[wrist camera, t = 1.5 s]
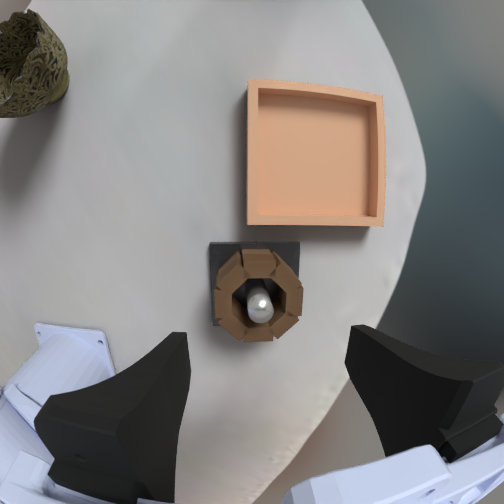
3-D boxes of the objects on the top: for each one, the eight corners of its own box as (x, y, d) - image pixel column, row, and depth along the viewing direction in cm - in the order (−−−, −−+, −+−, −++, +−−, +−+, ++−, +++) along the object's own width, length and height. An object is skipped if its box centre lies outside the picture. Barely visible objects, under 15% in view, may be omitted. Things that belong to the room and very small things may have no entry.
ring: (290, 318, 20) (299, 339, 17) (218, 320, 20) (216, 342, 17) (294, 248, 19) (305, 260, 16) (216, 249, 19) (213, 261, 16)
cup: (80, 32, 14) (32, -10, 6) (104, 89, 16) (46, 50, 8) (17, 87, 14) (-40, 68, 7) (35, 148, 16) (-34, 142, 8)
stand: (294, 320, 21) (308, 353, 16) (213, 322, 20) (209, 357, 16) (298, 241, 19) (317, 258, 15) (210, 242, 19) (203, 259, 14)
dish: (371, 222, 19) (383, 226, 18) (246, 221, 19) (247, 225, 17) (371, 101, 17) (382, 96, 16) (246, 88, 17) (248, 79, 15)
